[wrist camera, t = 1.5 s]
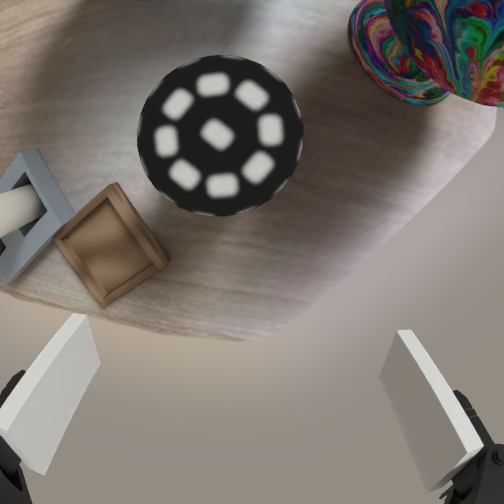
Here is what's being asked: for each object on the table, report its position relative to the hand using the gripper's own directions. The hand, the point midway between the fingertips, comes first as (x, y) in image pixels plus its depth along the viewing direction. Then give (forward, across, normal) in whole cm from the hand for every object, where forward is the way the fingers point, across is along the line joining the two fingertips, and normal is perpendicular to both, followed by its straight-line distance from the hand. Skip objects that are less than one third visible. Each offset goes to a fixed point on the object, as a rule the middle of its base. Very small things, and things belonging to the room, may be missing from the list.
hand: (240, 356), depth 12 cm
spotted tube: (+26, -2, +8) cm, 27 cm away
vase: (+26, +19, +24) cm, 40 cm away
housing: (+25, -34, -2) cm, 42 cm away
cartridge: (+26, -30, +1) cm, 39 cm away
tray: (+25, -18, -5) cm, 31 cm away
